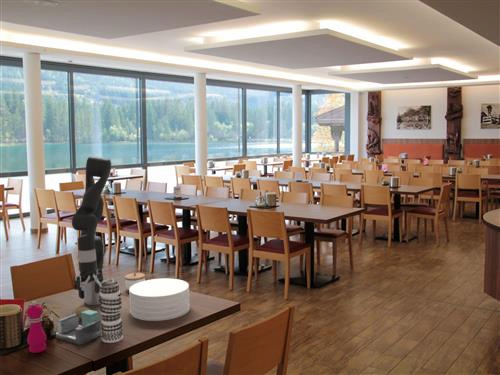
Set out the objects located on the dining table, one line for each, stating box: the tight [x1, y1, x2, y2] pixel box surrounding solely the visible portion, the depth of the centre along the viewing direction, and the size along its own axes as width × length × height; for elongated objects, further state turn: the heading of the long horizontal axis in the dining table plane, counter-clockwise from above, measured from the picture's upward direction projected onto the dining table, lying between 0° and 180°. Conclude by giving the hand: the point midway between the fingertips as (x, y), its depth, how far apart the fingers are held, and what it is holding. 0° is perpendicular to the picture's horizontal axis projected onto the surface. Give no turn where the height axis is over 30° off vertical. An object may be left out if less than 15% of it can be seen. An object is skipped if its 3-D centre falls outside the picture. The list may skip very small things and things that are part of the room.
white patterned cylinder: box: [98, 278, 124, 344], centre depth 227 cm, size 9×9×25 cm
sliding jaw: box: [56, 313, 80, 334], centre depth 234 cm, size 2×9×6 cm, turn 147°
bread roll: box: [71, 306, 91, 325], centre depth 250 cm, size 10×10×8 cm
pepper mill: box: [26, 300, 48, 354], centre depth 218 cm, size 7×7×20 cm
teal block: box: [81, 309, 99, 326], centre depth 242 cm, size 6×4×7 cm, turn 57°
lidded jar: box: [124, 271, 146, 290], centre depth 294 cm, size 11×11×9 cm
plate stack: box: [128, 277, 191, 322], centre depth 261 cm, size 28×28×12 cm
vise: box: [55, 319, 102, 346], centre depth 231 cm, size 15×11×6 cm
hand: (89, 295), depth 240 cm, fingers open, 8 cm apart
